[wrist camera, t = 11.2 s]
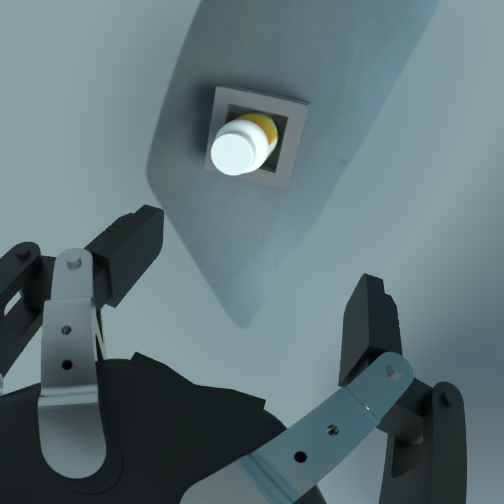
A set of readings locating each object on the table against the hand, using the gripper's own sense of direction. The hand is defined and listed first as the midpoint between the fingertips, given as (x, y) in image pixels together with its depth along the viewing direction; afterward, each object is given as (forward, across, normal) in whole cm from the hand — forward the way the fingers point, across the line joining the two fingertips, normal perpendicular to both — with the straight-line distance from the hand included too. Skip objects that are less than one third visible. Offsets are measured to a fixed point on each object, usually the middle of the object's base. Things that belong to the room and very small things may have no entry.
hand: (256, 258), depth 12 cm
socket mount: (+27, +6, +2) cm, 28 cm away
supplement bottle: (+26, +6, +2) cm, 27 cm away
